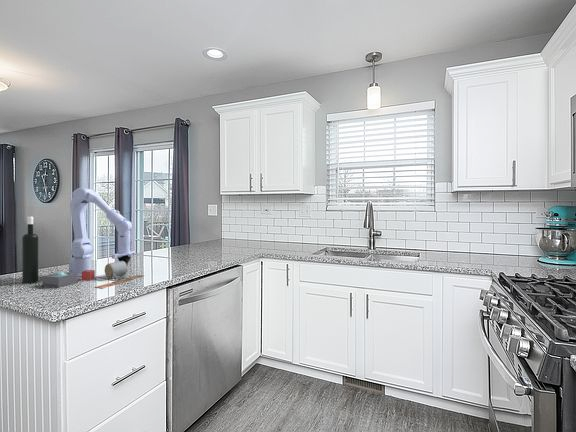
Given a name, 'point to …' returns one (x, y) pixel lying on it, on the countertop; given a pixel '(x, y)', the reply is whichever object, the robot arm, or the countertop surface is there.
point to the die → (88, 274)
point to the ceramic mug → (116, 270)
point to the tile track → (119, 281)
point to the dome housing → (59, 280)
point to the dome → (59, 274)
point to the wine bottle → (30, 255)
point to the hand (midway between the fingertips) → (124, 270)
